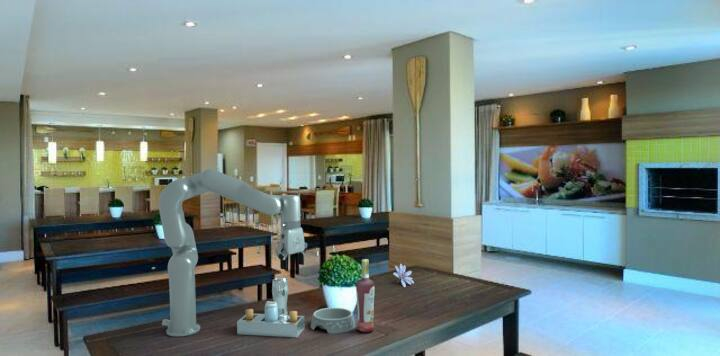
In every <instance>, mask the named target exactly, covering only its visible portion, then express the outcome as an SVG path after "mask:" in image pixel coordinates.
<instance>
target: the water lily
mask: <svg viewBox="0 0 720 356" xmlns="http://www.w3.org/2000/svg"><path fill="white" fill-rule="evenodd" d="M406 269H407V267H406V265H405V264H404V265H403V264H402V263H400V265H399V266H397V265H395V270H396V272H393V273H392V274H393V275H394V276H395V277H397V278H398V280H397V281H396V284H398V283H399V282H400V283H401V285H402V287H404V288H406V286H407V285H406V284H408V285H412V284H415V282H414V280H413V277H411V274H412V270H408V271H406Z"/></svg>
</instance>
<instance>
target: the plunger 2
mask: <svg viewBox="0 0 720 356" xmlns="http://www.w3.org/2000/svg"><path fill="white" fill-rule="evenodd" d="M288 313H289V314H288V315H289V318H290V323H296V322H297V316H298V311H297V310H289V312H288Z"/></svg>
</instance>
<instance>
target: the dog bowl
mask: <svg viewBox="0 0 720 356" xmlns="http://www.w3.org/2000/svg"><path fill="white" fill-rule="evenodd" d="M309 327H310V328H311V330H313V331H314V330H315V328H317V327H318V328H319V329H321V330H326V331H327V333H328V334H329V335H330V334H342V333H347V332H350V331H352V330H354V329H355V327H356V322H355V318H354V313H353V311H351V310H350V309H347V308H343V307H324V308H320V309H317V310H315V311H314V312H313V313H312V318H311V323H310V326H309Z"/></svg>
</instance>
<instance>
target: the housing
mask: <svg viewBox="0 0 720 356" xmlns="http://www.w3.org/2000/svg"><path fill="white" fill-rule="evenodd" d="M305 323H306V322H305V315H297V322H296V323H290V318H289V314H286V315H278V321H277V322H270V321H265V313H254V312H253V319H252V320H251V321H250V320H246V314H244V315H243V316H242V317H241V318H240V319H238V320H237V321H236V329H237V333H236V334H237V335H246V336H264V337H265V336H266V337H281V338H299V335H301V333H302V332H303V331H304V330H305V325H306V324H305Z"/></svg>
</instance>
